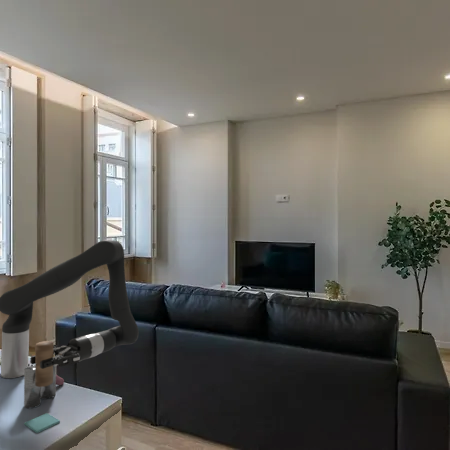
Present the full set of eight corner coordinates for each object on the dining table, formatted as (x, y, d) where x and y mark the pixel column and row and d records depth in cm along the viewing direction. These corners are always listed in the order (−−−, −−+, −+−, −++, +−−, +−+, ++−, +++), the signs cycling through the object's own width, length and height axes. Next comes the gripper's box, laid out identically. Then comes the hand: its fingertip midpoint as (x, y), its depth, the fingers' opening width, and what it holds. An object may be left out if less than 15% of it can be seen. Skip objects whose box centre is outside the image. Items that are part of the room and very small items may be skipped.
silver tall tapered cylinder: (21, 405, 120) (21, 369, 120) (35, 399, 124) (35, 364, 124) (29, 409, 118) (29, 372, 118) (43, 403, 122) (43, 367, 122)
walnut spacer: (31, 383, 110) (32, 344, 109) (47, 378, 114) (47, 339, 113) (41, 388, 107) (41, 347, 107) (56, 382, 111) (56, 343, 111)
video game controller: (38, 385, 138) (31, 372, 135) (48, 376, 141) (41, 363, 138) (56, 392, 133) (49, 378, 130) (66, 382, 137) (59, 368, 134)
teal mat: (24, 424, 110) (24, 422, 110) (46, 414, 115) (46, 412, 115) (37, 433, 106) (37, 431, 106) (59, 422, 112) (59, 420, 112)
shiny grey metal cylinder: (37, 395, 127) (38, 361, 127) (50, 390, 131) (51, 357, 131) (45, 400, 124) (46, 365, 124) (58, 394, 128) (59, 361, 128)
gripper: (73, 331, 126) (23, 345, 112) (100, 340, 118) (49, 356, 104) (73, 353, 126) (22, 369, 112) (99, 363, 118) (49, 382, 104)
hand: (36, 362), depth 108 cm, fingers closed on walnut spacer, 4 cm apart
